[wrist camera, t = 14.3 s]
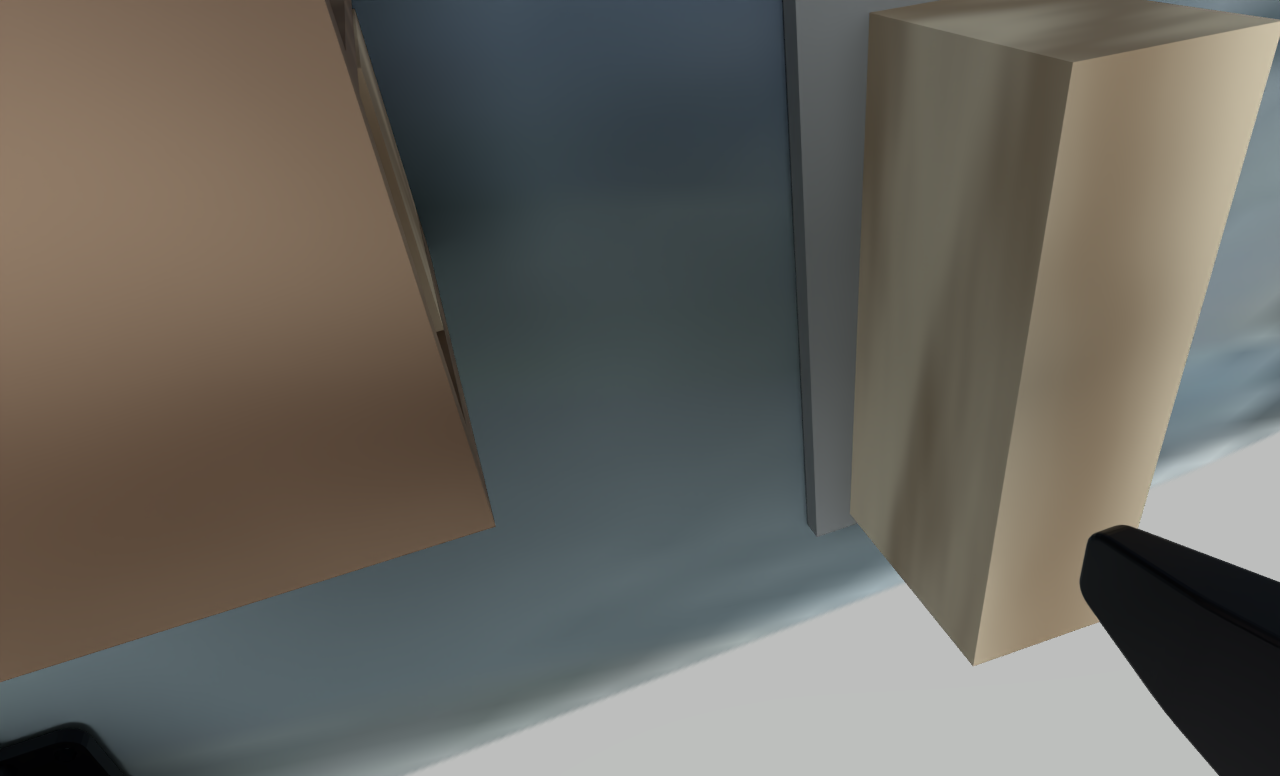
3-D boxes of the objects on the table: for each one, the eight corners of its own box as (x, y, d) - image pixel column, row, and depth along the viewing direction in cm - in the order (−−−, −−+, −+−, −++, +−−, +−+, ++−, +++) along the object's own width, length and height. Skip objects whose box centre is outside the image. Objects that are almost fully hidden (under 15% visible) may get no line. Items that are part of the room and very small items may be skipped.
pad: (1006, 457, 27) (1018, 468, 27) (807, 524, 26) (817, 536, 25) (1075, -116, 18) (1096, -116, 18) (780, -55, 17) (793, -53, 17)
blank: (1032, -17, 18) (1283, 21, 14) (966, 478, 26) (1112, 617, 21) (869, 12, 18) (1072, 62, 13) (849, 513, 25) (973, 666, 20)
